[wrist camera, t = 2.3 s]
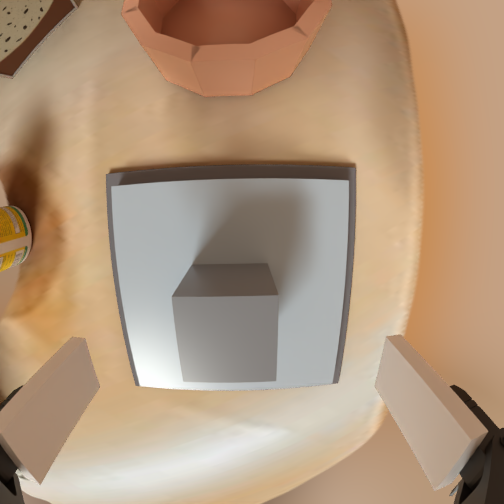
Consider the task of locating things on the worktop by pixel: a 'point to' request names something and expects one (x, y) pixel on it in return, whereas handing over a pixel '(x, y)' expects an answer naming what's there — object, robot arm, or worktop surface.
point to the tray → (239, 173)
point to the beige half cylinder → (27, 29)
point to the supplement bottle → (13, 237)
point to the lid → (232, 280)
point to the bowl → (225, 40)
